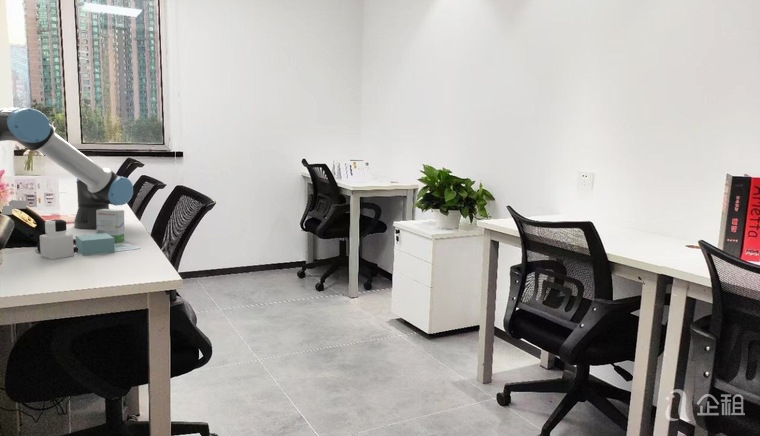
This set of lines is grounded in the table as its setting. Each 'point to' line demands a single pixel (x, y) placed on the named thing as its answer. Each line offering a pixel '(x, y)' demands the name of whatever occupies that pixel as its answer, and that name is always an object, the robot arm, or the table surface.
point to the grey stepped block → (56, 240)
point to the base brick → (95, 244)
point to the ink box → (111, 223)
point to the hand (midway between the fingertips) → (19, 207)
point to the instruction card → (124, 247)
